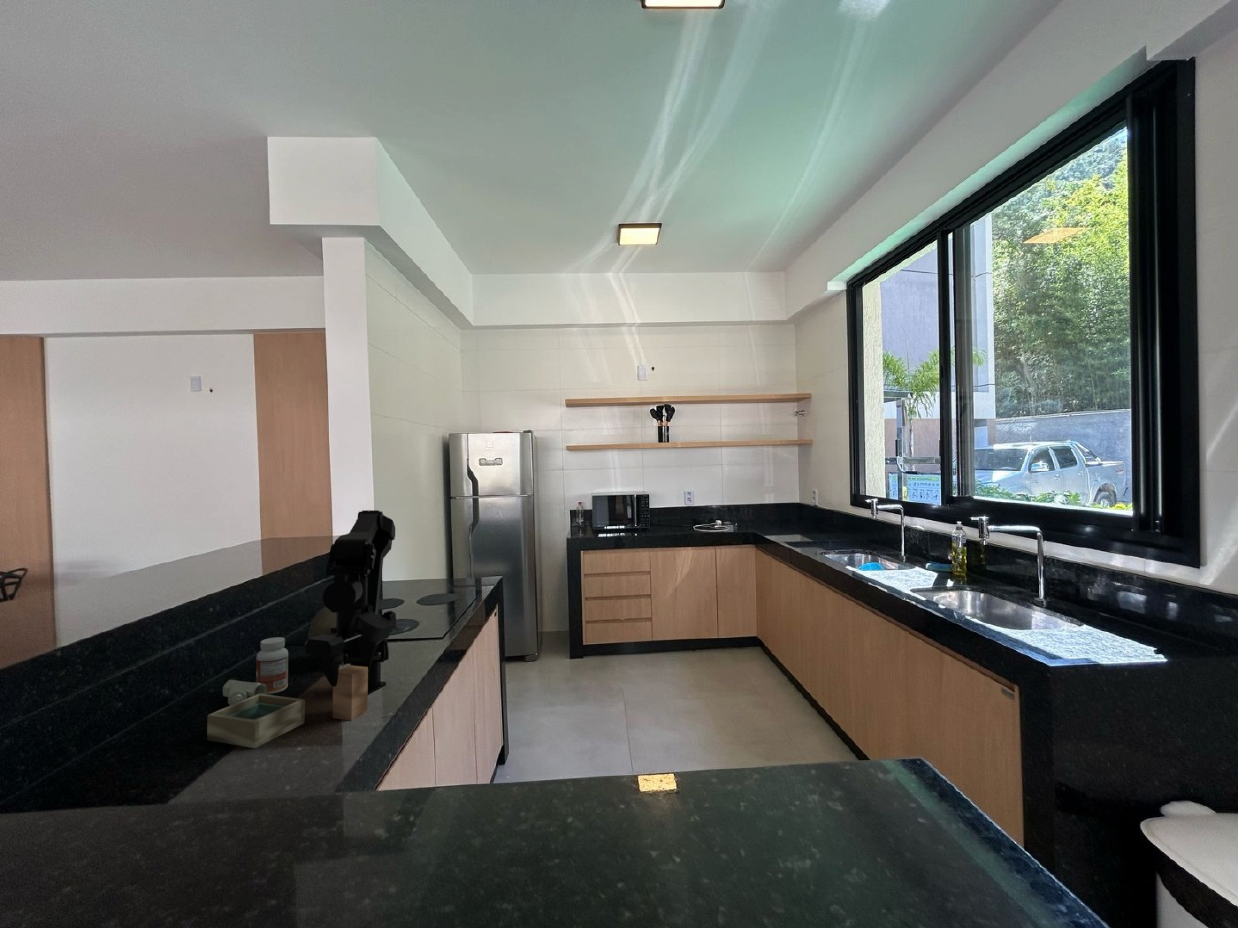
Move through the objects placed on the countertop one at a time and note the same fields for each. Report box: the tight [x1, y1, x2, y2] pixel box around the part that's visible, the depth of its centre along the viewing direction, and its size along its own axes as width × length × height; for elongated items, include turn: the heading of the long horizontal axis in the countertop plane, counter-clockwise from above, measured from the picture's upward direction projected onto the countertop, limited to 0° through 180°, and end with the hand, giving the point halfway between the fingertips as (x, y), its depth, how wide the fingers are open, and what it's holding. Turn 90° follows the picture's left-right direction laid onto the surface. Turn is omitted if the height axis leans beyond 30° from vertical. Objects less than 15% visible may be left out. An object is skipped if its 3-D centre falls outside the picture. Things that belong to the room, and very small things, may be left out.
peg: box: [332, 664, 369, 721], centre depth 119 cm, size 4×4×9 cm
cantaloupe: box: [307, 606, 343, 663], centre depth 151 cm, size 14×14×15 cm
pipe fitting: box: [222, 679, 266, 706], centre depth 125 cm, size 8×4×7 cm
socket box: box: [206, 694, 306, 749], centre depth 111 cm, size 11×11×4 cm
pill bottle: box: [255, 636, 289, 695], centre depth 132 cm, size 6×6×11 cm
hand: (350, 678), depth 119 cm, fingers open, 9 cm apart
